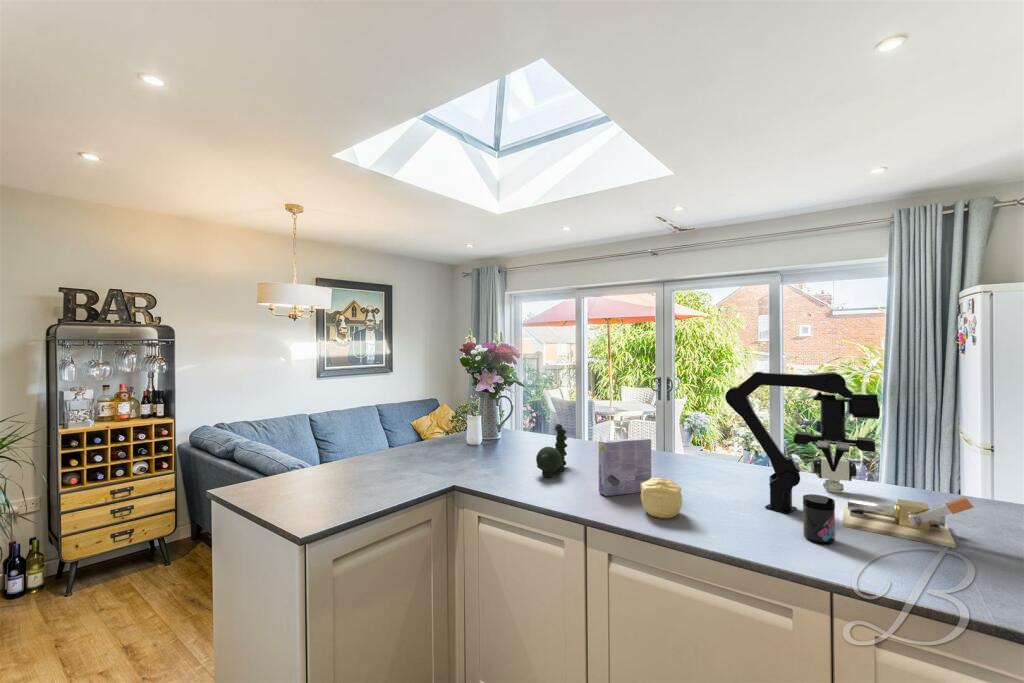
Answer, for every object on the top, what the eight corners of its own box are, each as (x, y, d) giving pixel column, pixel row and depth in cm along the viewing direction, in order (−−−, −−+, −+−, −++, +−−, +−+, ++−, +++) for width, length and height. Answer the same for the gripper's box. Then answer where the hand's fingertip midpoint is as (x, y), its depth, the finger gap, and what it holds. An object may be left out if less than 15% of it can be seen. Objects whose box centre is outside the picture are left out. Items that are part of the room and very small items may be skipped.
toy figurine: (550, 468, 188) (529, 479, 165) (551, 421, 190) (530, 427, 167) (572, 470, 185) (554, 482, 162) (573, 423, 186) (555, 428, 163)
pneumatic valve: (857, 496, 146) (856, 458, 146) (814, 491, 151) (813, 455, 151) (851, 490, 151) (851, 454, 151) (810, 486, 156) (810, 451, 156)
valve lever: (905, 517, 118) (965, 497, 111) (904, 515, 120) (964, 495, 113) (913, 528, 117) (974, 508, 110) (912, 525, 119) (973, 506, 112)
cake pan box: (646, 486, 158) (645, 435, 158) (655, 490, 154) (654, 438, 154) (597, 492, 152) (596, 440, 152) (605, 497, 148) (604, 443, 148)
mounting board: (842, 526, 123) (842, 522, 123) (844, 509, 135) (844, 506, 135) (955, 548, 110) (955, 543, 110) (946, 527, 122) (946, 523, 122)
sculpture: (639, 519, 129) (639, 481, 129) (642, 505, 141) (642, 470, 141) (682, 524, 125) (682, 485, 125) (682, 509, 137) (681, 473, 137)
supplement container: (813, 545, 112) (812, 503, 112) (797, 534, 119) (797, 494, 119) (841, 546, 111) (841, 503, 111) (824, 534, 118) (824, 494, 118)
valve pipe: (847, 516, 128) (847, 496, 128) (848, 510, 132) (848, 491, 132) (945, 533, 115) (945, 511, 115) (942, 527, 119) (942, 505, 119)
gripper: (874, 415, 130) (874, 470, 130) (797, 410, 142) (798, 460, 142) (874, 421, 121) (875, 479, 121) (793, 415, 133) (793, 468, 133)
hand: (833, 471), depth 130 cm, fingers closed
